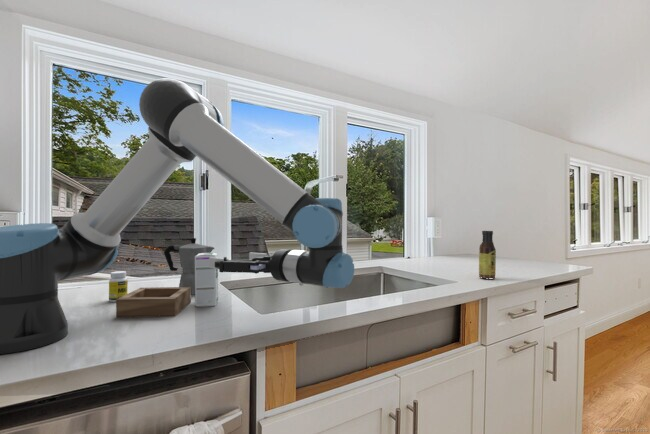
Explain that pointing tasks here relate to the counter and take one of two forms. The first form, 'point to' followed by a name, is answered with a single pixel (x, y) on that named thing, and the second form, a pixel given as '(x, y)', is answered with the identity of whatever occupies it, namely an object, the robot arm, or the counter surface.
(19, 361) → the counter surface
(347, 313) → the counter surface
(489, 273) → the sauce bottle
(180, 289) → the open brown wooden box
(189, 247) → the coffeepot
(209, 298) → the syrup box
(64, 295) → the counter surface
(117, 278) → the supplement bottle
